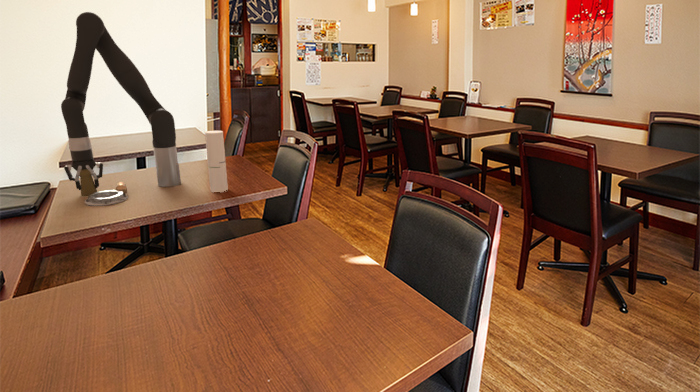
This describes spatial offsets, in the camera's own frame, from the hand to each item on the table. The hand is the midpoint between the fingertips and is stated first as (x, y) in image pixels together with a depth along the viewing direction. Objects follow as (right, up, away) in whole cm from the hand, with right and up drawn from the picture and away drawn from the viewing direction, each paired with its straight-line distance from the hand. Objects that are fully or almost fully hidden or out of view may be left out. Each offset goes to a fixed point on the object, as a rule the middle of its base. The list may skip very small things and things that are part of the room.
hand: (88, 188), depth 179 cm
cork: (0, -3, +1) cm, 3 cm away
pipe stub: (+12, -2, +3) cm, 13 cm away
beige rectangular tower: (+52, -1, +7) cm, 52 cm away
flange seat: (+11, -5, -7) cm, 14 cm away
